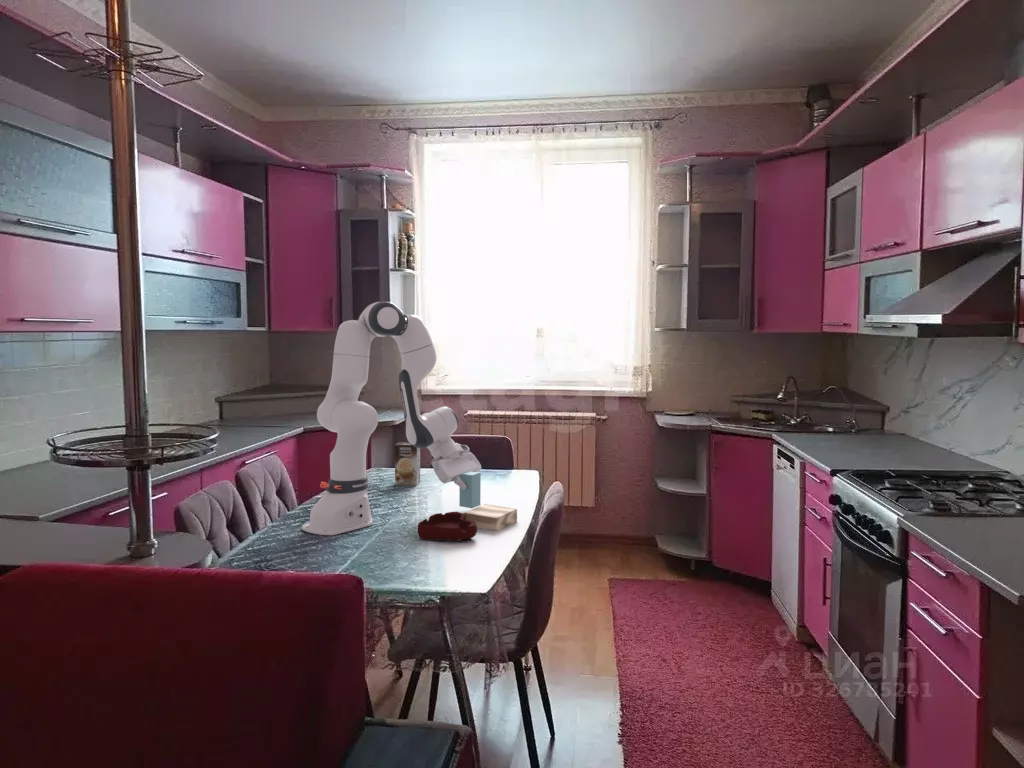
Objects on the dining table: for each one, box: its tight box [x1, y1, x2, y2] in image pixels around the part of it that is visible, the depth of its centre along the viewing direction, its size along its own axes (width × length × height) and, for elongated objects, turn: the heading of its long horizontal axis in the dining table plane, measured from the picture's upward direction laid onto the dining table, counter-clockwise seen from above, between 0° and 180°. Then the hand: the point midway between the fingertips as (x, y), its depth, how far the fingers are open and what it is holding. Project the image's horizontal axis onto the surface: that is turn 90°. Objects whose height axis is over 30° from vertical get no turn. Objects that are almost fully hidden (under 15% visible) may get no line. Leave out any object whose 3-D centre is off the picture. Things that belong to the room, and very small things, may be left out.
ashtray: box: [417, 511, 478, 542], centre depth 204 cm, size 18×16×5 cm
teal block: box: [459, 471, 482, 509], centre depth 229 cm, size 5×5×11 cm
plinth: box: [463, 503, 518, 532], centre depth 216 cm, size 12×12×4 cm
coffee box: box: [394, 441, 421, 487], centre depth 271 cm, size 9×6×16 cm
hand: (471, 486), depth 229 cm, fingers closed on teal block, 5 cm apart
